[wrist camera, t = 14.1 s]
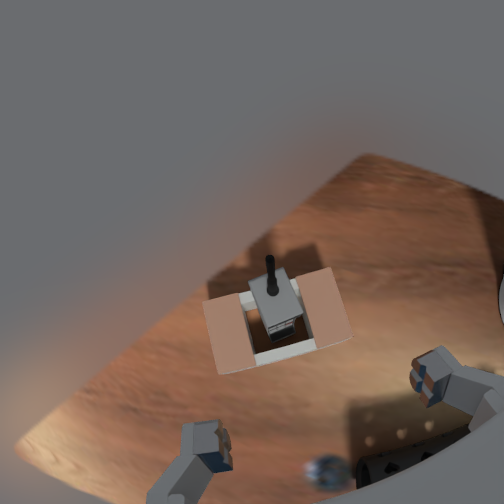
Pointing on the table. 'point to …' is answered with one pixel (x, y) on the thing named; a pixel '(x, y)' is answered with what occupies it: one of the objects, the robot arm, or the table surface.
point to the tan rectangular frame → (320, 336)
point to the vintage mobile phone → (276, 301)
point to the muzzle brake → (403, 457)
